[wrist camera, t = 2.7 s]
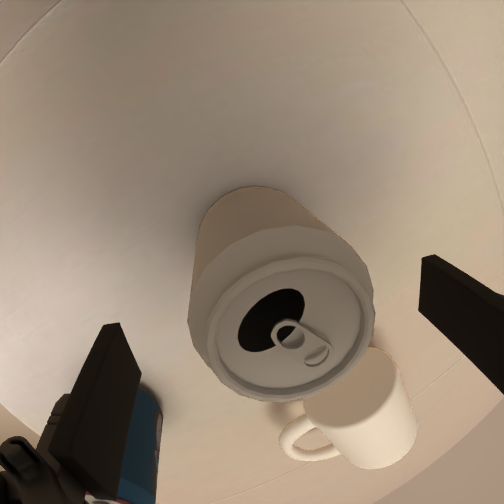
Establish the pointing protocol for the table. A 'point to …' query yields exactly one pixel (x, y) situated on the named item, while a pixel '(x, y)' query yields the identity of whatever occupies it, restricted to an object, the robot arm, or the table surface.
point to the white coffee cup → (358, 416)
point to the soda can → (139, 454)
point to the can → (277, 298)
